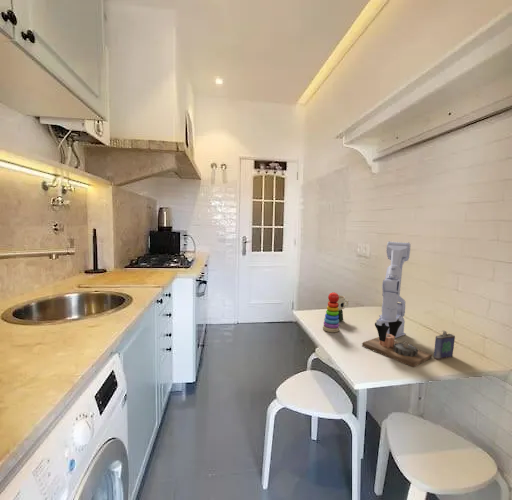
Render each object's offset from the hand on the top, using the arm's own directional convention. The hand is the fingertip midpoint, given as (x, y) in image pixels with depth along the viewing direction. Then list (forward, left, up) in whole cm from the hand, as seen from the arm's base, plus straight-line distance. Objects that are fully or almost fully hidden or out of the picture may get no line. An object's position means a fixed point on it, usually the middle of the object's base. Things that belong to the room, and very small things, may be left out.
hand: (387, 338), depth 127 cm
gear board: (0, +4, -4) cm, 6 cm away
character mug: (-10, -35, -4) cm, 37 cm away
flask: (-12, +17, -4) cm, 21 cm away
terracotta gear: (0, 0, -3) cm, 3 cm away
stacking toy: (+4, -27, -4) cm, 28 cm away
